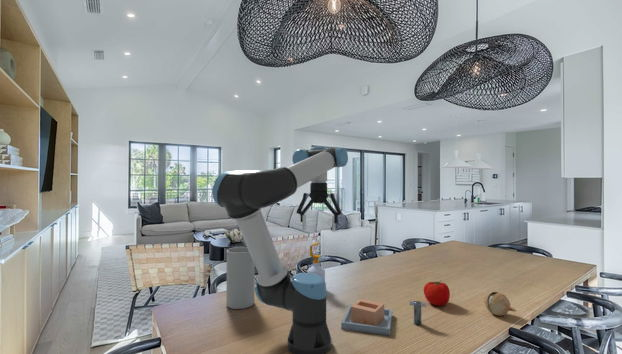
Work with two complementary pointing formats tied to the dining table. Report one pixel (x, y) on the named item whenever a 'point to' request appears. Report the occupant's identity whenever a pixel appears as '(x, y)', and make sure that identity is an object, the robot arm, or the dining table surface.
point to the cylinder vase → (240, 278)
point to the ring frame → (367, 312)
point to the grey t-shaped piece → (417, 311)
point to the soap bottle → (316, 264)
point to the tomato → (437, 293)
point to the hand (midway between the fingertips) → (318, 230)
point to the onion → (498, 304)
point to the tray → (382, 328)
